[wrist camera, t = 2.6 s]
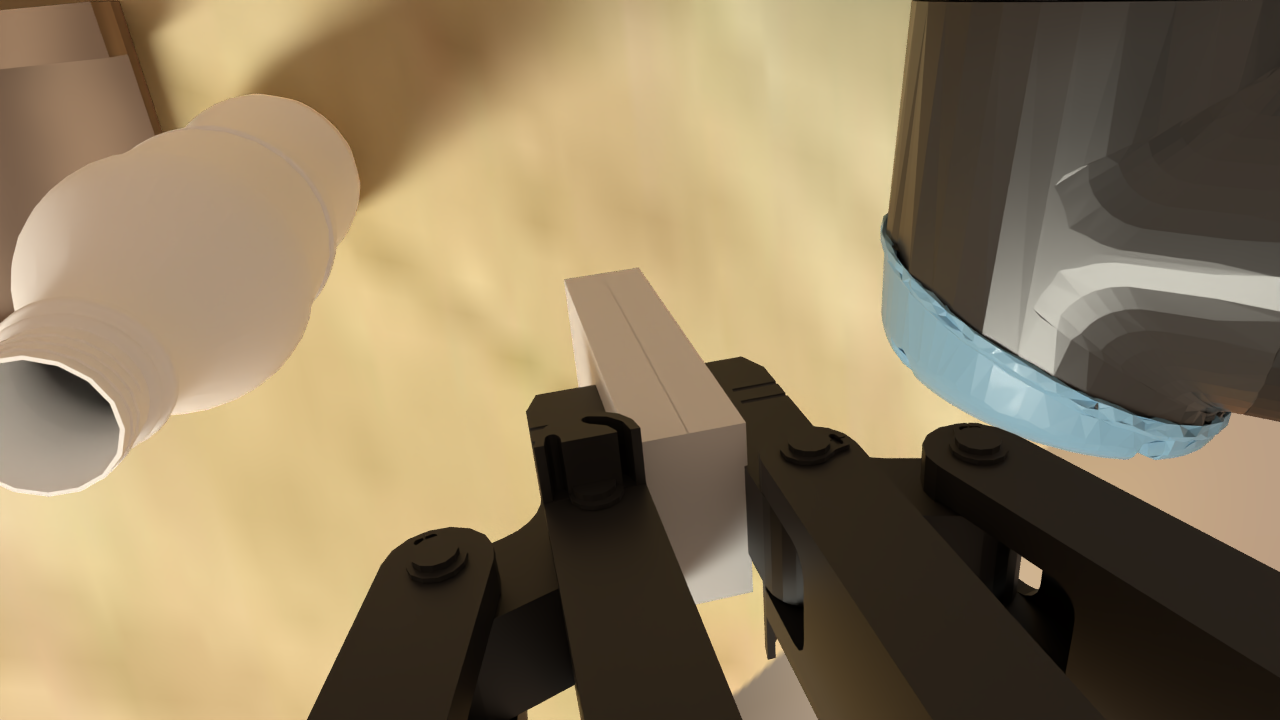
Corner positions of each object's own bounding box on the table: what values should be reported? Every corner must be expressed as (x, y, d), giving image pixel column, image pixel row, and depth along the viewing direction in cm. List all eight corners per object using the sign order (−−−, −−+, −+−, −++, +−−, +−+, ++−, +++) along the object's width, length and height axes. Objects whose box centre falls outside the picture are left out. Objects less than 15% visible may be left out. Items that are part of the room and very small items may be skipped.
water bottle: (229, 55, 35) (-155, 164, 13) (390, 134, 38) (302, 338, 16) (174, 204, 37) (-244, 523, 15) (331, 269, 40) (177, 624, 17)
